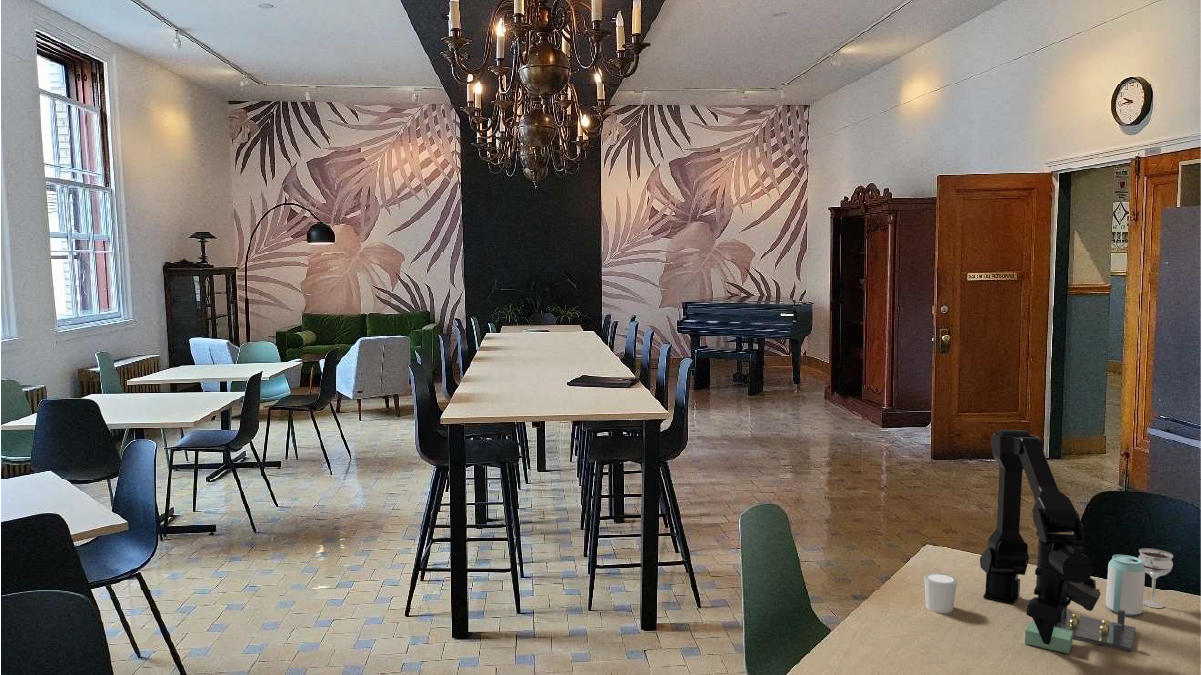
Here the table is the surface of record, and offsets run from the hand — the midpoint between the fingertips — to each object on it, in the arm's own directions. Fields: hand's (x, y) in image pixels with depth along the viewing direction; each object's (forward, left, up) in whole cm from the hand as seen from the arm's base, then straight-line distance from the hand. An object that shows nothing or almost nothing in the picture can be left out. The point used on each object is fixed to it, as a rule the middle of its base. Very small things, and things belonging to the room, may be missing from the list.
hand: (1048, 638), depth 179 cm
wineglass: (+16, +37, -1) cm, 40 cm away
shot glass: (-23, +6, -1) cm, 24 cm away
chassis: (+6, +12, -1) cm, 13 cm away
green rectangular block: (0, 0, -1) cm, 1 cm away
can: (+11, +29, -1) cm, 31 cm away
